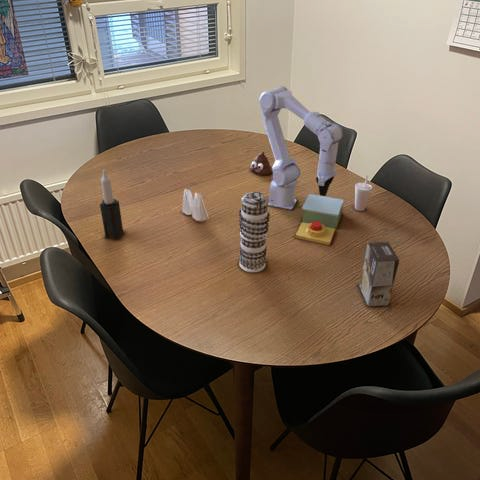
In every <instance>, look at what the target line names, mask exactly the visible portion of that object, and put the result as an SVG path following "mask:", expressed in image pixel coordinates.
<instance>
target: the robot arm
mask: <svg viewBox="0 0 480 480" xmlns="http://www.w3.org/2000/svg"><path fill="white" fill-rule="evenodd" d="M258 103H259V107H260V111H261V114H260V115H261V119H262V122H263V125H264V128H265V132H266V135H267V138H268V141H269V144H270V147H271V151H272V155H273V159H274V163H273V164H272V166H271V168H272V181H271V183H270V185H269V192H268V193H269V194H268V195H269V196H268V201H269V202H268V206H271V207H275V208H281V209H286V210H293V209H294V207H295V205H296V203H297V201H298V199H297V198H295V196H296V195H295V194H296V183H297V181H298V179H299V178H300V177H301V169H300V166H299V165H298V164H297V162H296V159H295V158H293V157H291V156H290V154H289V150H288V147H287V142H286V140H285V136H284V133H283V129H282V127H281V123H280V120H279V113H280V112H281V111H282V109H287V111H290V112H291V113H293V114H294V115H295V116H297V117H298V118H300V119H301V120H303V125H304V126H305V127H306V128H307V129H308V130H309V131H311V132H312V133H313V134H315V136H317V139H318V142H319V154H318V155H319V156H318V163H317V170H316V177H315V182H316V183H317V186H318V194H319V196H325V197H327V194H328V191H329V188H330V185H332V183H333V180H334V178H335V177H338V174H339V173H338V172H337V171H335V170H336V161H337V154H338V148H339V141H340V140H341V139H342V138H343V135H344V132H343V129H342V127H341V126H340V125H339V123H332V122H330V121H329V120H327V119H326V118H325V117H323V116H322V115H321V113H320V112H319V111H310V110H309V109H308V108H307V107H306V106H304V105H303V104H302V103H301V102H300V101H299V100H298V99H297V98H296V97H295V96H294V95H293V93H292V91H291V90H289V89H288V88H287V87H286V86H283V85H281V86H278V87H276V88H274V89H273V88H272V89H270V90H265V91H263V92H262V93H261V95H260V96H259V99H258Z"/></svg>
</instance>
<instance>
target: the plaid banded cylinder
mask: <svg viewBox="0 0 480 480" xmlns="http://www.w3.org/2000/svg"><path fill="white" fill-rule="evenodd" d="M240 203H241V209H239V210H238V218H239V220H238V222H239V224H238V225H239V235H240V237H241V239H240V244H239V255H238V257H239V259H238V261H239V267H240V268H241V270H244V271H245V272H247V273H259V272H261V271H263V270H265V268H266V266H267V265H266V262H267V261H266V260H267V248H268V246H267V241H266V240H267V236H268V232H269V222H270V217H271V215H270V214H271V213H270V212H269V209H268V207H269V205H268V204H269V197H266V196H265V195H264V194H263V193H262V192H260V191H250V192H247V193H246V194H245V195H244V196H242V197H241V199H240Z"/></svg>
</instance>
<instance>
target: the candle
mask: <svg viewBox="0 0 480 480" xmlns="http://www.w3.org/2000/svg"><path fill="white" fill-rule="evenodd" d="M100 184H101V188H102V195H103V200H102V201H101V203H100V204H99V208H100V214H101V221H102V225H103V231H104V236H105V238H106V239H111V240H114V241H116V240H119V239H120V238H121V237H122V236H123V235H124V227H123V221H122V213H121V206H120V201H119V200H117V199H116V198H114V194H113V188H112V181H111V178H110V177H109V175H108V174H107V171H106V170H105V169H103V170H102V176H101V178H100Z"/></svg>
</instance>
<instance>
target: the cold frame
mask: <svg viewBox="0 0 480 480" xmlns="http://www.w3.org/2000/svg"><path fill="white" fill-rule="evenodd" d="M343 208H344V203H343V204H342V207H341V210H340V213H339V215H338V216H333V215H327V214H322V213H317V212H312V211H307V210H303V211H302V222H304V223H309V224H310V223H312V222H313V221H318V222H321V223H322V225H324V226H325V227H328V228H333V229H335V230H337V228H338V225H339V222H340V219H341V217H342V214H343ZM302 222H301V223H302Z"/></svg>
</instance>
